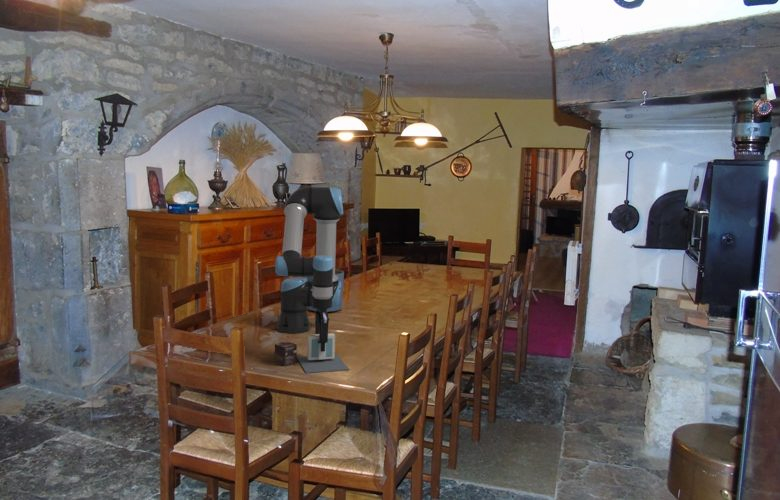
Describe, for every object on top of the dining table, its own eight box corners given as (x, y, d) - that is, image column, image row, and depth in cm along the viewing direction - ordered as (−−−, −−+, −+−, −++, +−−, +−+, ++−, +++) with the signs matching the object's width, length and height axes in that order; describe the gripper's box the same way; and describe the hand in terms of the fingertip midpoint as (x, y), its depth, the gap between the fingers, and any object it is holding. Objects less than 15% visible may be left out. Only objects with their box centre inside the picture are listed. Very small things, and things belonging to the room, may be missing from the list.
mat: (297, 358, 239) (297, 357, 238) (337, 355, 244) (337, 354, 244) (306, 373, 222) (306, 372, 222) (349, 370, 227) (349, 369, 227)
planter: (323, 316, 306) (324, 276, 303) (298, 309, 318) (298, 270, 316) (350, 310, 320) (351, 272, 317) (325, 303, 332) (326, 267, 330)
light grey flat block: (307, 357, 235) (307, 334, 234) (332, 356, 238) (333, 333, 237) (308, 360, 232) (309, 337, 231) (334, 358, 235) (335, 335, 234)
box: (284, 366, 228) (284, 347, 227) (273, 362, 232) (274, 343, 231) (296, 363, 233) (297, 344, 232) (286, 359, 237) (286, 340, 236)
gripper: (308, 293, 239) (306, 351, 242) (316, 302, 223) (315, 364, 226) (327, 292, 241) (325, 350, 244) (337, 301, 226) (335, 363, 229)
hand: (320, 357), depth 235 cm, fingers closed on light grey flat block, 3 cm apart
